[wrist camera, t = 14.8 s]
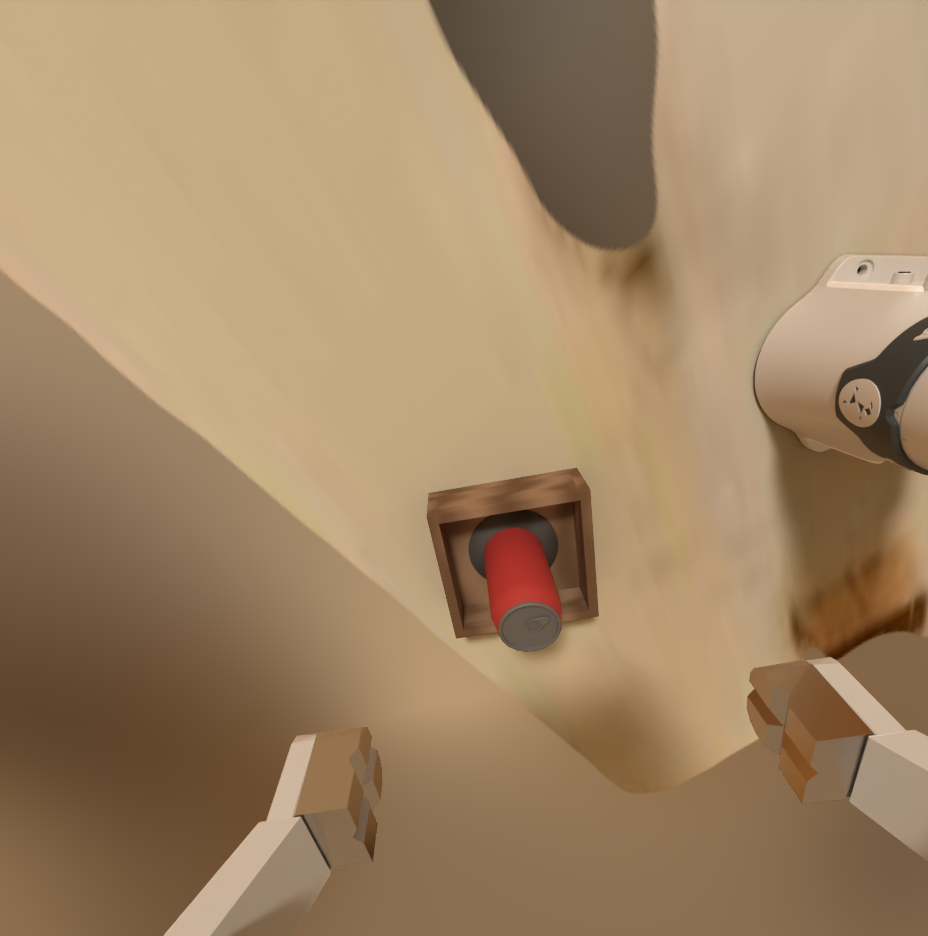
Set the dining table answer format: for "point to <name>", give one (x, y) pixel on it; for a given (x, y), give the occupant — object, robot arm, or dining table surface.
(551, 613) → the beer can
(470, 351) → the dining table surface
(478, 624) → the walnut box
